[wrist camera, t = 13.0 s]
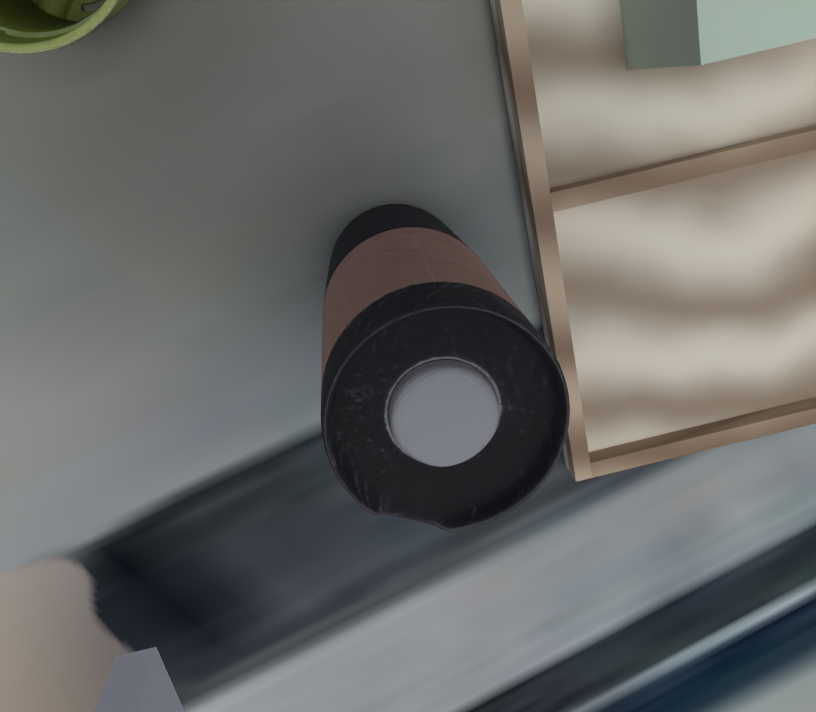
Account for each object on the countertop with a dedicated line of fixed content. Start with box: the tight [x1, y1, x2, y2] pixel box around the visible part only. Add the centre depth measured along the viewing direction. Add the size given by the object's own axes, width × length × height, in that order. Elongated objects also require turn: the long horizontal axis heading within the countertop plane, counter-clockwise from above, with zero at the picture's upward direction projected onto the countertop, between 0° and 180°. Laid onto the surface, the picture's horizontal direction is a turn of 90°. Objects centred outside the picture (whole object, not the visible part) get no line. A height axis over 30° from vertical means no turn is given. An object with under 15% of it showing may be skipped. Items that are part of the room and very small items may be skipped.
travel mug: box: [321, 204, 570, 531], centre depth 31 cm, size 8×8×20 cm
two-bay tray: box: [490, 0, 816, 481], centre depth 39 cm, size 33×17×2 cm, turn 12°
